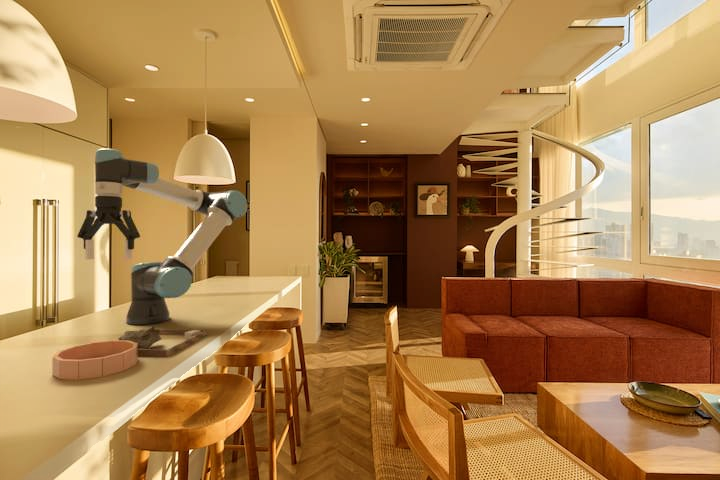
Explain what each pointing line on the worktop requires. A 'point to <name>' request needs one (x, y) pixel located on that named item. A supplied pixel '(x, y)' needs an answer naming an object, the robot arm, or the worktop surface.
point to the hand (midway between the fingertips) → (108, 259)
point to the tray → (175, 348)
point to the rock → (142, 337)
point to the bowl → (94, 359)
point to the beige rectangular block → (191, 333)
